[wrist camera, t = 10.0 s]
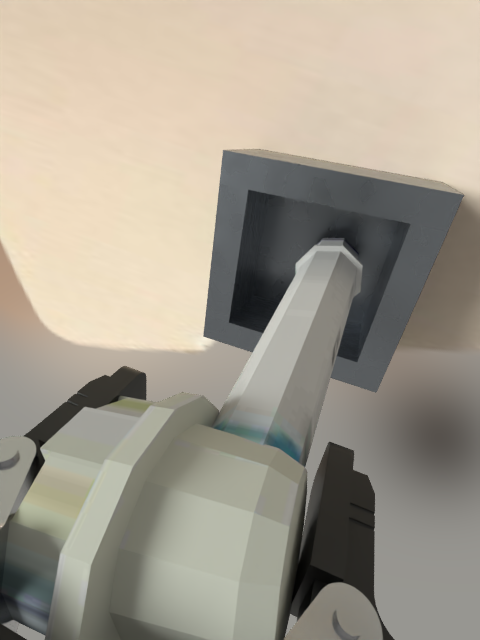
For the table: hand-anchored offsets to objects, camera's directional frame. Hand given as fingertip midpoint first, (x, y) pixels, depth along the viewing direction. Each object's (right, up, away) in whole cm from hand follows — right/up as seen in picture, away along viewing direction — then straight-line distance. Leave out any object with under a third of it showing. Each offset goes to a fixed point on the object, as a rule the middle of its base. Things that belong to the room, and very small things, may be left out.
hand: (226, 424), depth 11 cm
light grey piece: (+7, +8, +16) cm, 19 cm away
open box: (+7, +9, +19) cm, 22 cm away
